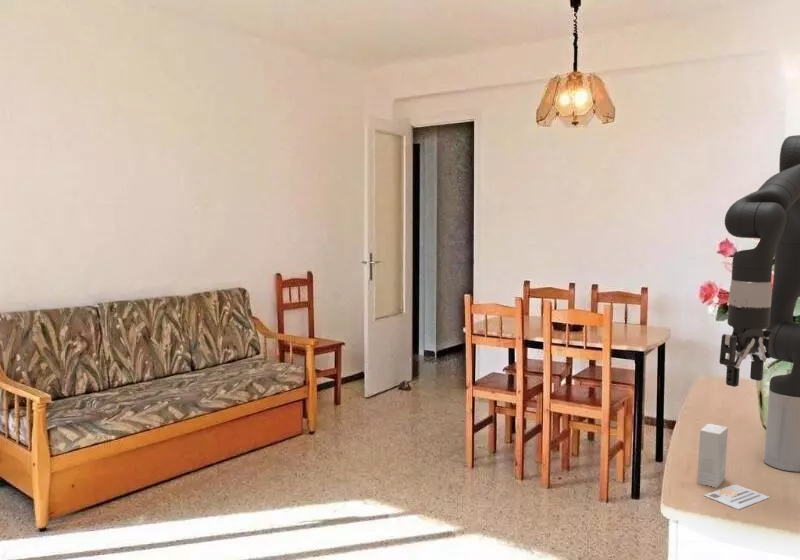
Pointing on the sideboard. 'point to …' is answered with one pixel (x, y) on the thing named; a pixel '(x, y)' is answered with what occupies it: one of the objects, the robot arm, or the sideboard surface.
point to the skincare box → (712, 455)
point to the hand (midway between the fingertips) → (744, 382)
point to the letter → (737, 497)
